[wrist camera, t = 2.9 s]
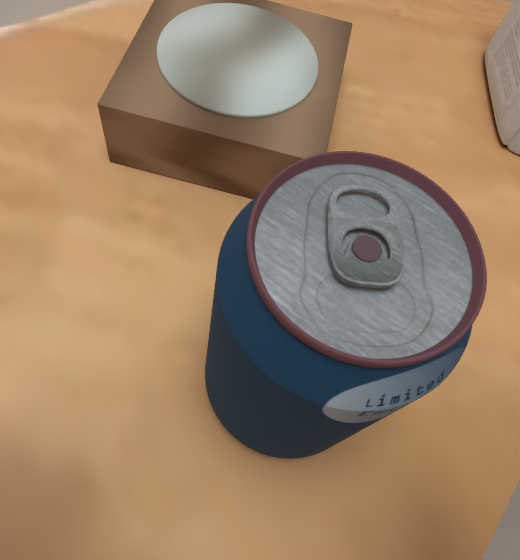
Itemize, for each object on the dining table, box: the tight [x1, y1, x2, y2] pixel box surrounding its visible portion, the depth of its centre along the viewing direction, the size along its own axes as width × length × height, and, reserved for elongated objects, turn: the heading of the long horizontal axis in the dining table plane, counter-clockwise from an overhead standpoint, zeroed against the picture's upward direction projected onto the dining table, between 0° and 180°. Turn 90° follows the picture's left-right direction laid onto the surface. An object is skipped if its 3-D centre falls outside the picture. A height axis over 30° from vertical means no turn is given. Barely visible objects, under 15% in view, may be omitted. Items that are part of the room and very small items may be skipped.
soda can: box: [205, 151, 487, 458], centre depth 16 cm, size 7×7×12 cm
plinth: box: [98, 0, 352, 199], centre depth 27 cm, size 11×11×4 cm
